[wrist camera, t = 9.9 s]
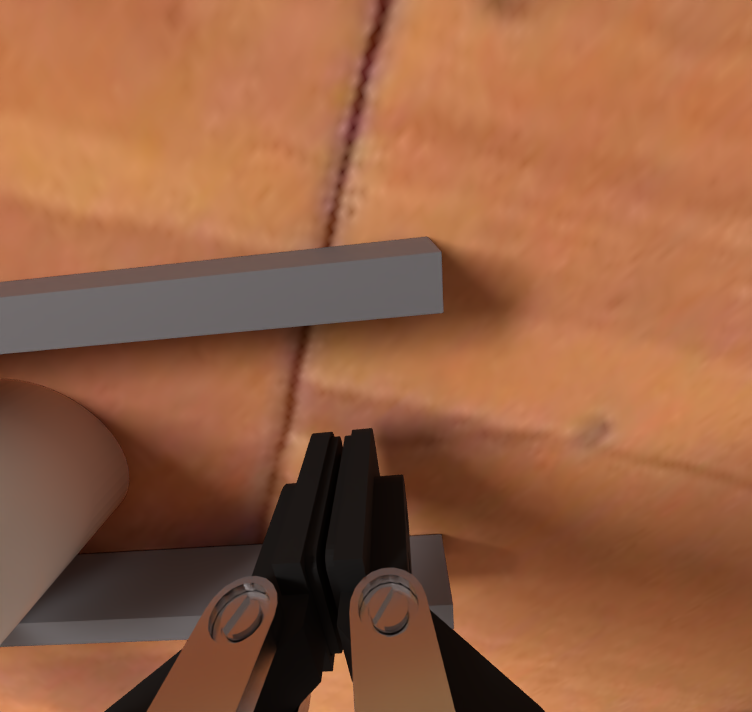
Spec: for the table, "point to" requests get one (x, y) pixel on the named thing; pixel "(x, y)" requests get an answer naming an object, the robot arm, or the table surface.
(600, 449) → the table surface
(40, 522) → the jar
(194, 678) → the robot arm
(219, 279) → the frame
